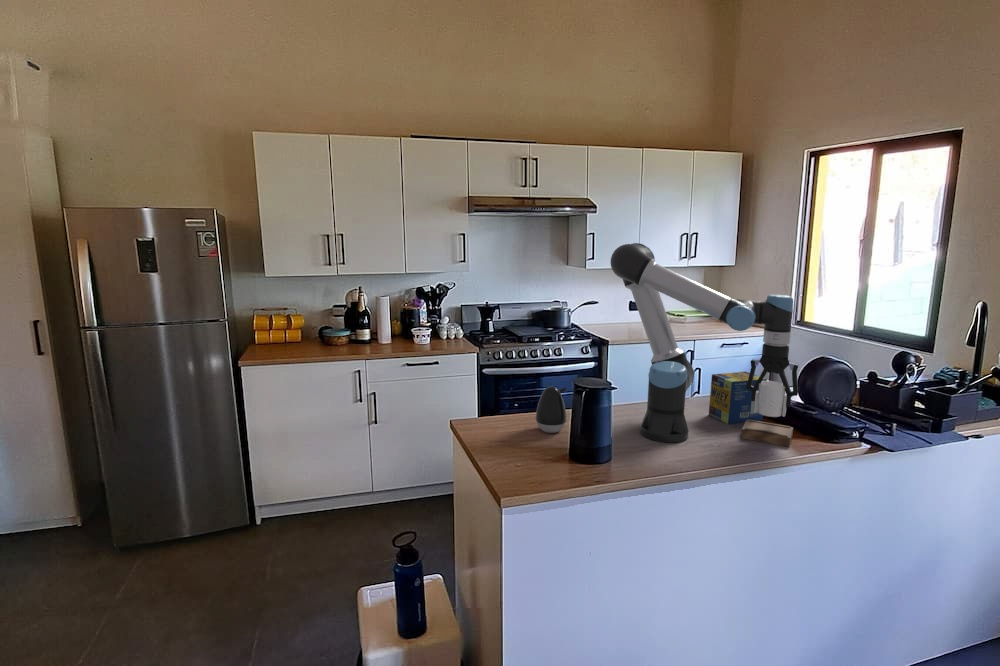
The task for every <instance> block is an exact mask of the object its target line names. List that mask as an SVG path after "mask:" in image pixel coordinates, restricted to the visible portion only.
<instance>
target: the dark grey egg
mask: <svg viewBox="0 0 1000 666" xmlns="http://www.w3.org/2000/svg"><path fill="white" fill-rule="evenodd" d="M566 390H567V388H566V387H562V388H560V389H558V388H557V387H555V386H552V385H550V386H547V387H545V388H544V390H543V391H542V393H541V396H540V398H539V400H538V403H537V407H536V411H535V421H536V424H537V427H538V428H539V429H540V430H541V431H542V432H544V433H548V434H554V433H558V432H560V431H562V430H563V428H564V427H565V426H566V425H565V424H566V422H567V411H566V406H565V401H564V399H563V396H562V393H564V392H566Z"/></svg>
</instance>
